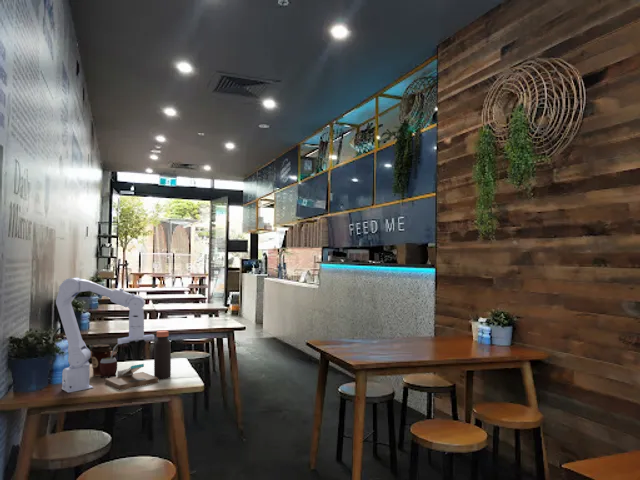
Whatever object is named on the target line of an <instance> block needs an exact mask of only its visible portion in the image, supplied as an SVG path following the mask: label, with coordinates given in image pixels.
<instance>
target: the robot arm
mask: <svg viewBox="0 0 640 480" xmlns="http://www.w3.org/2000/svg"><path fill="white" fill-rule="evenodd" d="M82 292H83V293H84V292H91V293H95V294H97V295H101V296H104V297H106V298H109V300H110V302H111V303H114V304H116V305H119V306H121V307H125V308H128V310H129V313H128V314H129V315H128V336H125V337H120V338H117V344H118V345H122V344H126V345H127V347H128V348H129V351H130V353H131V357H132V360H133V361H137V360H140V359H141V355H142V352H143V349H144V348H145V346H146V344H147V342H146V341H149V340H150V341H152V340H155V334H152V333H151V334H145V314H144V312H145V311H144V307H145V303H146V302H145V299H144V298H143V297H142V296H140V295H135V293H134V292H132V293H131V292H130V293H129V292H128V291H125V290H124V289H123V288H116V289H111V288H109V287H106V286H103V285H101V284H99V283H96V282H94V281H91V280H89V279H85V278H81V277H72V278H71V277H69V278H66V279H64V280H63V281H62V283H61V284H60V285H59V286H58V293H57V295H56V299H55V305H56V307H57V311H58V314H59V318H60V320H61V324H62V328H63V330H64V333H65V338H66V341H67V343H68V346H67V352H68V357H67V361H68V364H69V366H68V367H65V368H63V369H62V372H61V373H62V377H61V381H62V382H61V389H62V390H63V391H64V392H66V393H74V392H79V391H84V390H88V389H93V388H94V386H92V385H90V380H91V379H90V374H91V373H90V372H91V371H90V370H91V368H90V366H91V365H90V362H89V360H90V359H91V358H92V357H91V356H92V351H90V350H91V349H89V348H88V347H87V345H86V342H85V341H84V340H83V337H82V335H81V334H82V333H81V331H80V328H79V324H78V321H77V318H76V315H75V311H74V308H73V304H72V303H73V300H74V299H75V298H76V296H77V295H78V294H80V293H82Z"/></svg>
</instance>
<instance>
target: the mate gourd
mask: <svg viewBox="0 0 640 480" xmlns="http://www.w3.org/2000/svg"><path fill="white" fill-rule="evenodd" d="M118 346H119V344H118V343H117V344H115V346H114V347H113V348H112V351H111V355H110V357H107V358H106V359H105V358H103V359H102V360H101V361H100V373H101V376H100V378H101V379H102V378H112V377H117V372H118V361H117V359H116V357H113V355H114V352H115V351H116V347H118Z"/></svg>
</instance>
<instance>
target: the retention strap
mask: <svg viewBox="0 0 640 480" xmlns="http://www.w3.org/2000/svg"><path fill="white" fill-rule="evenodd" d="M144 365H145V364H144V363H141V364H133V365H131V366H130V367H129V368H126V369H127V370H126V371H124V372H123V373H121V376H122V375H127V374H132V373H133V374H134V373H136V372H137V371H138V370H140V369H141V368H143V367H144Z"/></svg>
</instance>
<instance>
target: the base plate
mask: <svg viewBox="0 0 640 480" xmlns="http://www.w3.org/2000/svg"><path fill="white" fill-rule="evenodd" d="M127 369H128V368H125V369H124V368H123V369H119V370H118V369H117V376H112V377H110V378H108V377H105V379H104V381H105V382H104V383H105V385H106V386H107V385H108V386H109V387H111V388H113V389H115V390H118V391H123V390H129V389H134V388H140V387H142V386H143V387H144V386H147V385H153V384H157V383H159V379H158V378H157V377H155V376H154V375H151V374H149V373H147V372H143V371H140V372H134V373H132V374H127V375H122V376H121V373H123V372H124V371H126V370H127Z"/></svg>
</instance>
